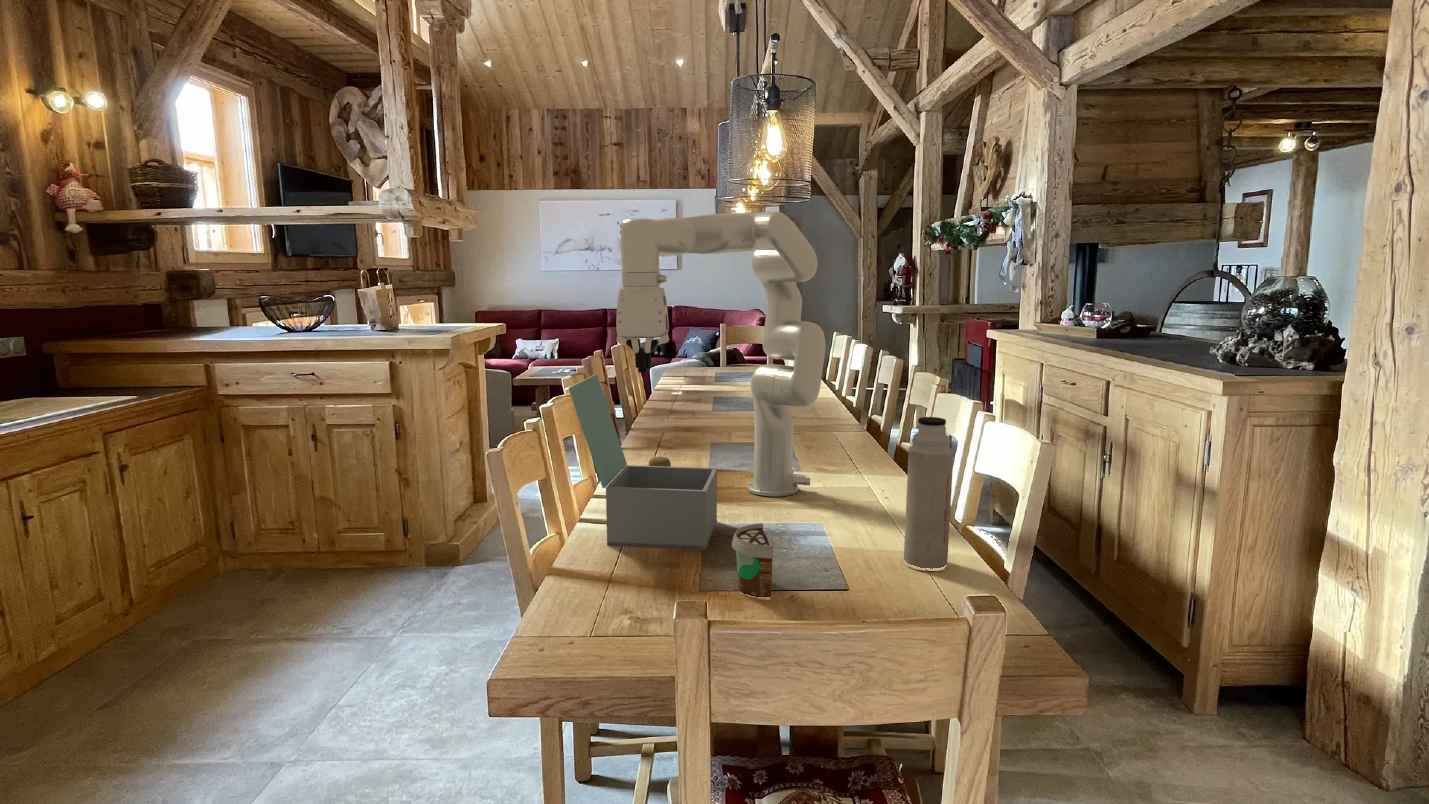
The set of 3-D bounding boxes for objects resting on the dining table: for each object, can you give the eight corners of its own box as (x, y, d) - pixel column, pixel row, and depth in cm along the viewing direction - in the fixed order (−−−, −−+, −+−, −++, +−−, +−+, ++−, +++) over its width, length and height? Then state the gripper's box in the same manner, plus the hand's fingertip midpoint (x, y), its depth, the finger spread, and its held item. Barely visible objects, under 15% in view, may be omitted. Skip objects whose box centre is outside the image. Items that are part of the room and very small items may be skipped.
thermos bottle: (952, 561, 150) (960, 417, 145) (940, 575, 143) (948, 424, 139) (911, 553, 154) (918, 412, 149) (897, 566, 147) (904, 419, 143)
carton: (716, 521, 173) (716, 468, 171) (705, 550, 156) (706, 491, 154) (627, 517, 176) (626, 465, 174) (607, 545, 158) (605, 487, 156)
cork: (669, 507, 183) (668, 461, 181) (644, 505, 184) (643, 459, 183) (675, 499, 189) (675, 455, 187) (651, 498, 190) (650, 453, 188)
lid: (596, 373, 171) (594, 374, 171) (571, 386, 153) (568, 387, 153) (627, 464, 174) (624, 465, 174) (605, 487, 156) (602, 488, 156)
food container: (728, 576, 143) (728, 523, 141) (761, 575, 143) (762, 522, 141) (735, 605, 131) (736, 547, 129) (772, 603, 131) (773, 546, 129)
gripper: (680, 280, 161) (682, 369, 165) (609, 281, 163) (612, 368, 167) (674, 281, 154) (676, 374, 158) (599, 282, 156) (603, 374, 159)
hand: (643, 371), depth 162 cm, fingers closed
